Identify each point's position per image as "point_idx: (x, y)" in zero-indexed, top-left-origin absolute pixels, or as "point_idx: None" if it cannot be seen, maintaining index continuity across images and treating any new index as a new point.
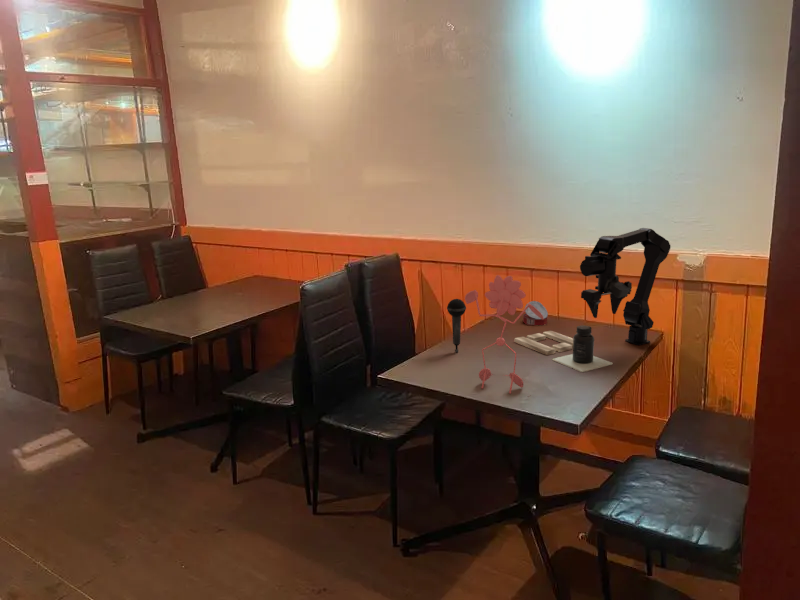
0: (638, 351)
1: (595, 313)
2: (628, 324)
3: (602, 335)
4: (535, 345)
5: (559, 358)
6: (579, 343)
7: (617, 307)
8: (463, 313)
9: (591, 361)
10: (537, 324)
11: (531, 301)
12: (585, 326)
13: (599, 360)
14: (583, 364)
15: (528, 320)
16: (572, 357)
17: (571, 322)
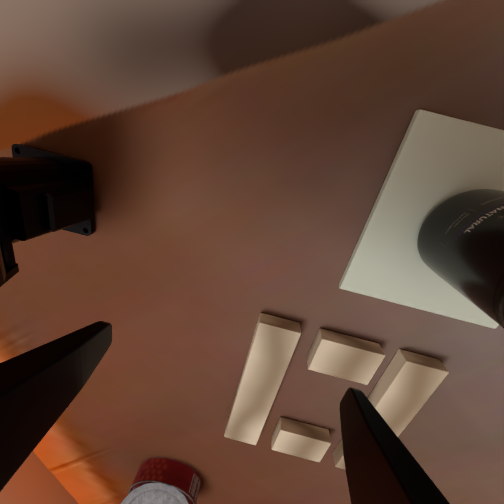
0: (155, 120)
1: (399, 446)
2: (12, 254)
3: (110, 319)
4: (403, 417)
5: (475, 313)
6: None
7: (23, 363)
8: None
9: (485, 189)
10: (187, 470)
11: None
12: None
13: (415, 180)
14: None
15: (196, 497)
16: (436, 283)
17: (91, 422)
